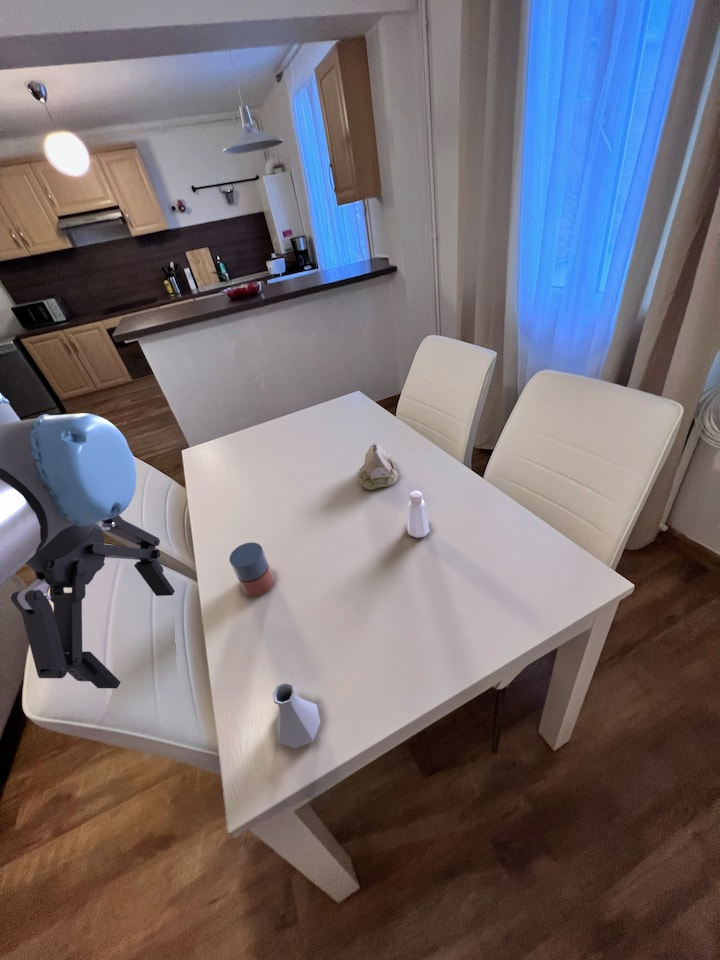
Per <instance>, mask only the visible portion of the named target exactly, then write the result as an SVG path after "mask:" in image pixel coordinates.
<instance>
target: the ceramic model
mask: <svg viewBox="0 0 720 960" xmlns="http://www.w3.org/2000/svg"><path fill="white" fill-rule="evenodd" d="M359 473H360V476H359V482H358V483H359V484H360V486H361V487H363V488H364V489H366V490H371V491H373V490H376V489H380V488H386V487H390V486H392V485H394V484H395V483H396V482H397V480H398V476H399V474H398V469H397V467H396V466H395V463H394V461H393V459H392V457H391V455H390V454H389V452H388V451H387V449H386V448H385V447H384V446H383V445H381V444H380V443H377V442H374V443H373V444H372V445H370V446H369V448H368V449H367V451H366V453H365V456H364V464H363V465H362V466H361V467H360V468H359Z"/></svg>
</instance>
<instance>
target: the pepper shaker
mask: <svg viewBox="0 0 720 960" xmlns="http://www.w3.org/2000/svg"><path fill="white" fill-rule="evenodd" d="M409 498H410V499H409V500H410V501H409V502H408V506H407V526H406V530H407V533H408V535H409V536H411V537H414V538H416V539H418V538H424V537H426V536H427V535H428V534H429V532H431V531H430V525H429V519H428V514H427V508H426V504H425V501H424V499H423V492H421V491H419V490H414V491H411V492H410V494H409Z"/></svg>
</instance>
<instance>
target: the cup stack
mask: <svg viewBox="0 0 720 960" xmlns="http://www.w3.org/2000/svg"><path fill="white" fill-rule="evenodd" d="M229 564H230V565H231V567H232V569H233V572H234V574H235V576H236V578H237V580H238V582H239V584H240V587H241V589H242V590H243V593H244V594H245V595H246V596H249V597H260V596H262V595H264V594H266V593H267V592H268V591H270V589H271V588H273V586H274V583H275V577H274V575H273V571H272V570H271V566H270V564H269V562H268V559H267V557H266V554H265V551H264V549H263V547H262V545H261V544H259V543H257V542H246V543H243V544H241V545H239V546H237V547H236V548H234V550H232V551H231V553H230V555H229Z"/></svg>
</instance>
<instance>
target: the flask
mask: <svg viewBox="0 0 720 960" xmlns="http://www.w3.org/2000/svg"><path fill="white" fill-rule="evenodd" d="M272 697H273V703H274V704H276V705H277V706H278V715H277V719H276V730H277V738H278V743H279V744H282V745H284V746H287V747H290V748H292V749H298V748H301V747H303V746H305V745H308V744H310V743H313V742H314V740H315V738H316V735H317V734H318V733H317V732H318V731H319V728H320V726H321V721H322V720H321V717H320V713H319V708H318V704H316V703H314V702H312V701H309V700H307V699H304V698H302V697H300V696H298V695H297V693H296V691H295V687H294V684H293V683H289V682H283V683H280V684H277V685H276V687H275V688H274V690H273V692H272Z"/></svg>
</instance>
